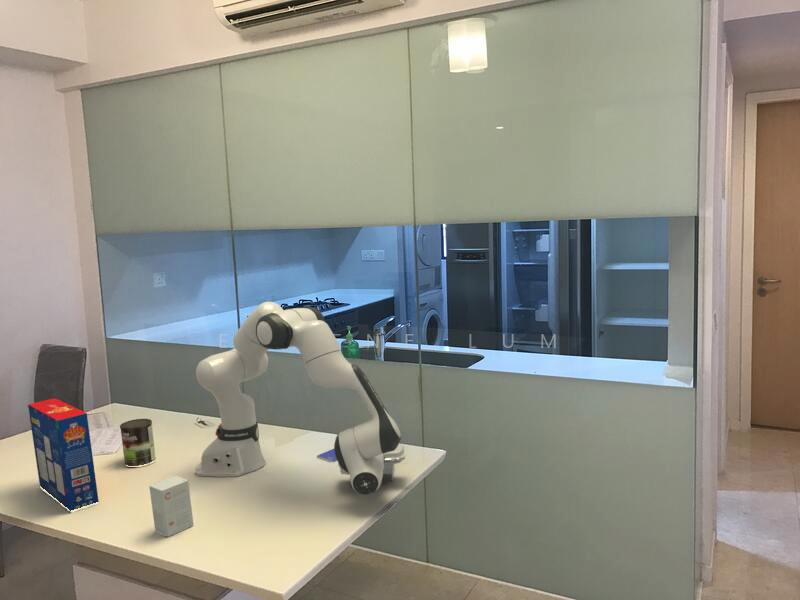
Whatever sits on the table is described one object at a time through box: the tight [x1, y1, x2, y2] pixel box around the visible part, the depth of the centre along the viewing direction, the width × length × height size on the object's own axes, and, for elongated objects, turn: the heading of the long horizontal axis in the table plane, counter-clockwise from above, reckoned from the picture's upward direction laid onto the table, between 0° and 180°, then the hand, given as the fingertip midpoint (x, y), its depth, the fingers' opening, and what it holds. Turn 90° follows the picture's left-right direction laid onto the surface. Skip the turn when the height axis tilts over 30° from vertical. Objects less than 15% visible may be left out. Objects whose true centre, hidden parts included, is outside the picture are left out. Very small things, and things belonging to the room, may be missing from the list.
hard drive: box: [316, 448, 338, 464], centre depth 229 cm, size 2×8×12 cm
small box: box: [149, 475, 194, 538], centre depth 181 cm, size 8×6×13 cm
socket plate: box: [381, 464, 394, 483], centre depth 211 cm, size 12×16×3 cm
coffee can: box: [119, 418, 157, 466], centre depth 234 cm, size 10×10×14 cm
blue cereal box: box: [27, 398, 100, 511], centre depth 207 cm, size 28×8×28 cm, turn 44°
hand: (372, 445), depth 211 cm, fingers open, 6 cm apart
